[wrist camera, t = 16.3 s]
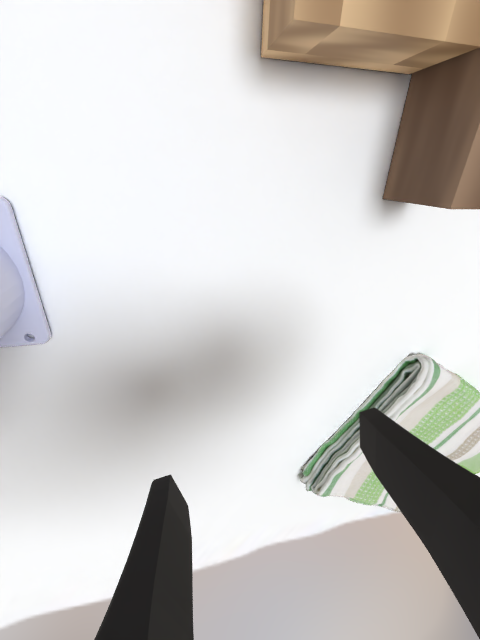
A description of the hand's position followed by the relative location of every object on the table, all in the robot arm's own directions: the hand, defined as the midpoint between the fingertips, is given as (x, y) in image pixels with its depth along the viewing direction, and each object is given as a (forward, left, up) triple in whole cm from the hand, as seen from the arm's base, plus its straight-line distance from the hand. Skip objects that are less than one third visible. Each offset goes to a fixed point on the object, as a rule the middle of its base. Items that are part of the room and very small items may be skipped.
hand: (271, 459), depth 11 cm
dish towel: (+21, -17, -11) cm, 30 cm away
